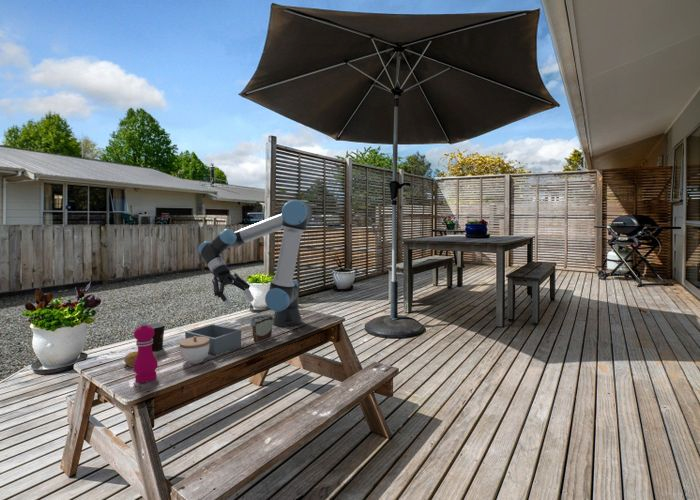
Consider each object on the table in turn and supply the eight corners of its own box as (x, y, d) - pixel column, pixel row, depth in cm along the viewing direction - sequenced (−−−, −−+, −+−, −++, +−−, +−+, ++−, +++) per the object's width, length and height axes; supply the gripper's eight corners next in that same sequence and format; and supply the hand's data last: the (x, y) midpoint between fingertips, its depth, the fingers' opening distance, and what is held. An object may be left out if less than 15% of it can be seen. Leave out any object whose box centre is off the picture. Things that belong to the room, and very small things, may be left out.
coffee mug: (155, 353, 147) (154, 329, 146) (137, 351, 149) (136, 327, 148) (174, 344, 159) (174, 321, 158) (157, 342, 160) (156, 320, 159)
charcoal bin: (213, 339, 166) (212, 323, 165) (241, 345, 157) (241, 330, 156) (185, 348, 153) (185, 331, 153) (214, 356, 144) (214, 339, 144)
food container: (263, 334, 173) (263, 313, 172) (273, 336, 170) (273, 315, 169) (244, 341, 162) (244, 319, 162) (254, 344, 159) (254, 321, 158)
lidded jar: (175, 360, 139) (174, 337, 139) (201, 353, 148) (201, 330, 147) (188, 368, 133) (187, 343, 132) (215, 359, 141) (215, 336, 140)
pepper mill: (128, 381, 121) (126, 322, 120) (147, 373, 128) (145, 317, 127) (144, 385, 119) (142, 325, 117) (162, 376, 126) (160, 319, 124)
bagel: (162, 361, 139) (161, 349, 139) (131, 370, 131) (130, 358, 130) (150, 355, 145) (149, 344, 145) (119, 364, 137) (119, 352, 136)
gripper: (235, 271, 189) (256, 303, 183) (193, 277, 167) (216, 313, 161) (242, 261, 186) (264, 293, 179) (200, 266, 164) (224, 303, 158)
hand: (241, 303), depth 170 cm, fingers open, 13 cm apart
